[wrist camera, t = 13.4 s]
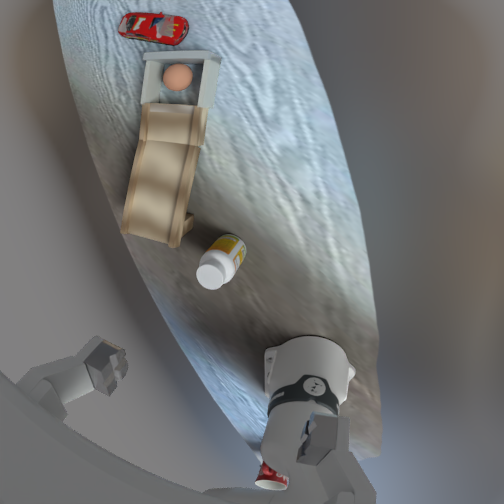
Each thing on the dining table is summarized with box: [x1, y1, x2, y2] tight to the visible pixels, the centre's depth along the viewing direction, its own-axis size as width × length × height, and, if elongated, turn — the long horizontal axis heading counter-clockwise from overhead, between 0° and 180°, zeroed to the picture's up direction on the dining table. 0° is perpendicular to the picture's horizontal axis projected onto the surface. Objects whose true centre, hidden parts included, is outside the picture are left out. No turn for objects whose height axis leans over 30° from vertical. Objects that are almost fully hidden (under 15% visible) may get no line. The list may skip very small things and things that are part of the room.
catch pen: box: [141, 50, 222, 108], centre depth 36 cm, size 8×10×5 cm
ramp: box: [120, 103, 208, 248], centre depth 41 cm, size 20×10×8 cm, turn 171°
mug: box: [255, 460, 288, 490], centre depth 66 cm, size 13×9×14 cm
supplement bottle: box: [196, 234, 246, 290], centre depth 44 cm, size 5×5×10 cm
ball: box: [163, 63, 193, 91], centre depth 36 cm, size 4×4×4 cm
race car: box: [118, 12, 189, 46], centre depth 34 cm, size 13×5×4 cm, turn 67°
